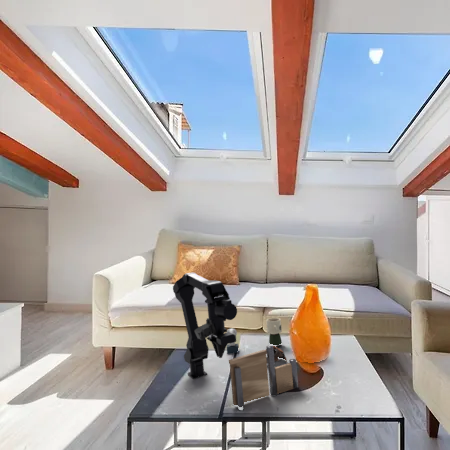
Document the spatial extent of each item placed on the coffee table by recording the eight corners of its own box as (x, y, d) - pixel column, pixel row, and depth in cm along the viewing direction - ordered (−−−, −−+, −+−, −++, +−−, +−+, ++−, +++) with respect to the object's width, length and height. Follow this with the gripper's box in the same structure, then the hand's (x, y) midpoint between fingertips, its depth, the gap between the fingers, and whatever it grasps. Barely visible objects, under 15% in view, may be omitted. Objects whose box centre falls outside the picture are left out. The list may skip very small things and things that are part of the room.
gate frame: (233, 406, 129) (229, 356, 129) (295, 385, 141) (291, 339, 141) (240, 411, 125) (235, 359, 125) (303, 389, 137) (299, 342, 137)
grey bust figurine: (239, 348, 188) (237, 326, 188) (238, 354, 180) (236, 330, 180) (227, 349, 188) (225, 327, 188) (226, 355, 180) (224, 331, 180)
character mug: (284, 349, 181) (282, 321, 181) (269, 350, 181) (267, 323, 181) (281, 341, 192) (279, 316, 192) (267, 343, 192) (265, 317, 192)
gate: (232, 406, 128) (228, 359, 128) (267, 393, 135) (263, 349, 135) (235, 408, 126) (231, 361, 126) (270, 395, 134) (266, 350, 134)
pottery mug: (291, 366, 161) (283, 352, 159) (272, 377, 161) (263, 364, 159) (282, 350, 173) (274, 336, 170) (264, 361, 173) (256, 347, 170)
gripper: (186, 315, 148) (190, 355, 148) (206, 324, 131) (210, 370, 131) (212, 310, 153) (216, 349, 153) (235, 318, 136) (238, 362, 136)
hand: (219, 357), depth 143 cm, fingers closed
